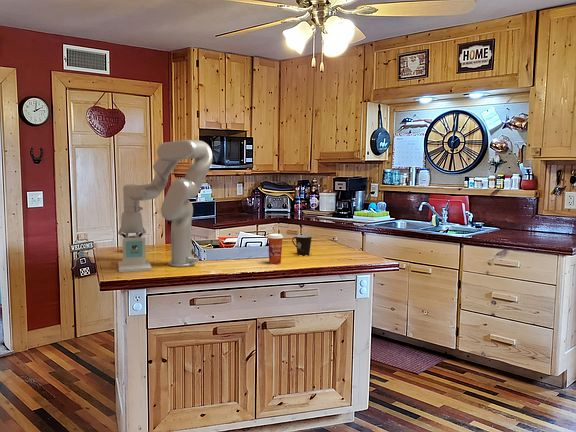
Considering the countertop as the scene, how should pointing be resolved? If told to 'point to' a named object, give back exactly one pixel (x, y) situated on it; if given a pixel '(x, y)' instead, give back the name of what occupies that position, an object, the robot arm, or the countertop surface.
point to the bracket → (134, 258)
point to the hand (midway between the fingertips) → (132, 246)
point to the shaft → (135, 245)
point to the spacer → (133, 243)
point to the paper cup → (275, 248)
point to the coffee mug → (303, 244)
